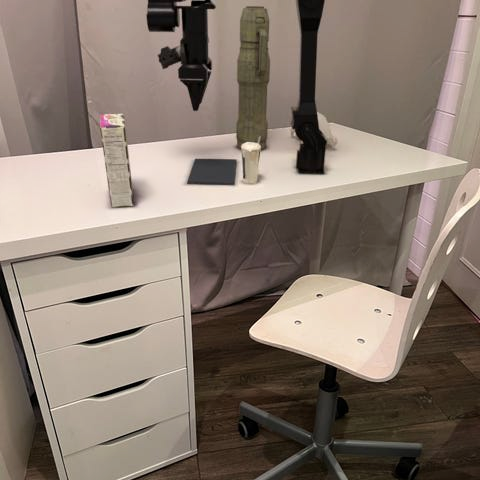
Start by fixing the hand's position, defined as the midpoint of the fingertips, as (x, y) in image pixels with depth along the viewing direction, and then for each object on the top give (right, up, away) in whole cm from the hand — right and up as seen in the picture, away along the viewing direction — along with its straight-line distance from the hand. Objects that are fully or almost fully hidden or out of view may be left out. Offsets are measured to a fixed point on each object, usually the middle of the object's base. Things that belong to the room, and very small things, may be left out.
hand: (197, 107), depth 124 cm
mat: (+4, -14, +5) cm, 15 cm away
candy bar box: (-15, -25, -12) cm, 32 cm away
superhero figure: (+33, +2, +31) cm, 45 cm away
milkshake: (+13, -18, -1) cm, 22 cm away
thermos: (+14, -1, +26) cm, 30 cm away
